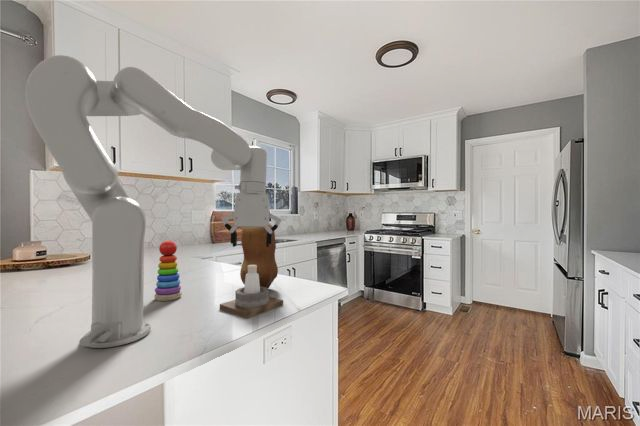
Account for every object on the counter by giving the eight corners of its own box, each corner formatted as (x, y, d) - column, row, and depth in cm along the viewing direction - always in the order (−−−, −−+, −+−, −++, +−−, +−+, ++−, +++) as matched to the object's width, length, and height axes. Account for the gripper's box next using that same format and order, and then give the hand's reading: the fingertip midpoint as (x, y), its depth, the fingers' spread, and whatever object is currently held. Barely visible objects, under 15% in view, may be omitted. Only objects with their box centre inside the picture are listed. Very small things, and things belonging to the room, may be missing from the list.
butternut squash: (239, 287, 108) (240, 221, 108) (275, 285, 112) (275, 221, 112) (240, 298, 94) (241, 222, 94) (281, 294, 98) (281, 222, 98)
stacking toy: (186, 295, 97) (187, 240, 97) (172, 302, 89) (172, 242, 89) (164, 294, 98) (165, 239, 98) (148, 301, 90) (149, 241, 90)
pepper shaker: (253, 298, 89) (254, 263, 89) (265, 301, 86) (265, 265, 86) (238, 302, 85) (239, 265, 85) (250, 306, 82) (250, 267, 82)
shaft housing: (247, 318, 76) (247, 299, 76) (219, 309, 83) (219, 292, 83) (282, 304, 88) (283, 288, 88) (256, 297, 95) (256, 282, 95)
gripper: (220, 186, 80) (218, 247, 80) (282, 189, 83) (280, 248, 83) (225, 189, 88) (223, 244, 88) (282, 191, 90) (280, 245, 90)
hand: (251, 246), depth 85 cm, fingers open, 9 cm apart
